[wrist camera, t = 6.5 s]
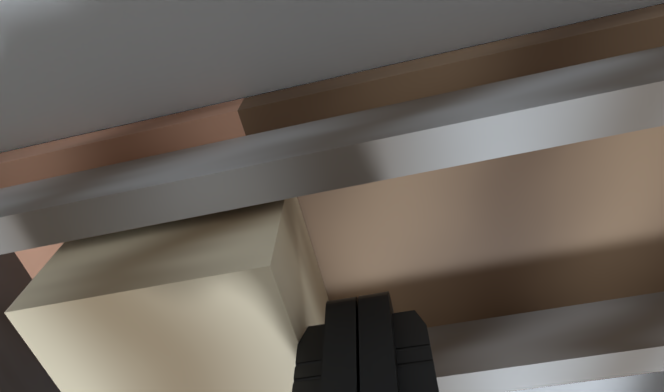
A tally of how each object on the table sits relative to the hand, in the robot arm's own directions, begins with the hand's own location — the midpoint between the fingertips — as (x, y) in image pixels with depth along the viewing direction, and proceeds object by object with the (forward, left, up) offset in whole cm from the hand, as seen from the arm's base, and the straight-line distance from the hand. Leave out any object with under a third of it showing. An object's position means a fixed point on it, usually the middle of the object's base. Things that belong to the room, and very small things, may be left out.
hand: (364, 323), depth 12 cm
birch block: (+4, 0, -3) cm, 5 cm away
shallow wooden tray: (-1, 0, -4) cm, 4 cm away
